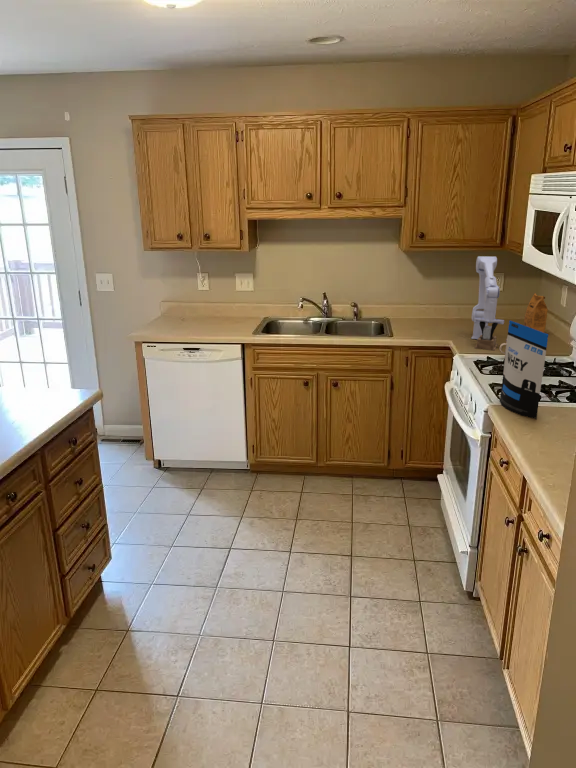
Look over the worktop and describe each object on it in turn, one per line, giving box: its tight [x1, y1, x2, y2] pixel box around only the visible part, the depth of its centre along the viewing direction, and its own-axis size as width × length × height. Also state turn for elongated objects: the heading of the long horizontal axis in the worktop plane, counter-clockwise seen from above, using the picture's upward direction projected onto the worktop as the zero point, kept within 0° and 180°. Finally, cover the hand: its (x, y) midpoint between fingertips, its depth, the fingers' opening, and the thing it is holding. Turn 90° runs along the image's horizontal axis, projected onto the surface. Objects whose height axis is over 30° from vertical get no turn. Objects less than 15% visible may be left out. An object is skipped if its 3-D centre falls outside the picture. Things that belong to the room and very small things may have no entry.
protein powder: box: [499, 319, 549, 420], centre depth 206 cm, size 10×24×30 cm, turn 10°
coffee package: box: [523, 293, 549, 333], centre depth 327 cm, size 10×12×22 cm
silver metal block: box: [483, 325, 492, 341], centre depth 297 cm, size 8×4×7 cm, turn 154°
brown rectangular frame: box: [474, 335, 499, 351], centre depth 299 cm, size 13×10×4 cm
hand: (487, 336), depth 298 cm, fingers closed on silver metal block, 3 cm apart
